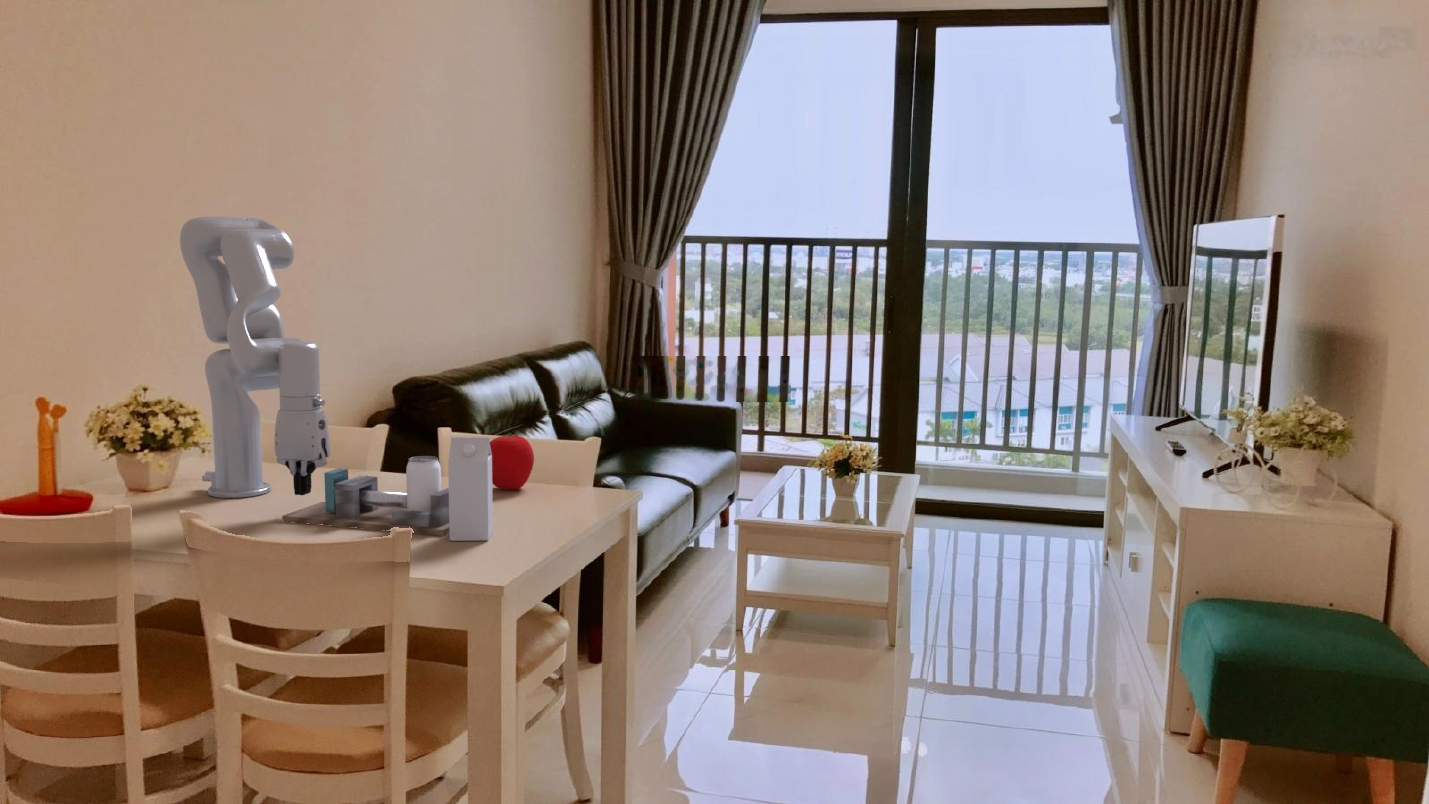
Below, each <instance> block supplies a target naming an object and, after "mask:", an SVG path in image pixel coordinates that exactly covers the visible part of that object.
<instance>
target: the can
mask: <svg viewBox="0 0 1429 804" xmlns="http://www.w3.org/2000/svg"><path fill="white" fill-rule="evenodd" d="M441 468H442V467H441V464H440V463H439V458H438V457H436V456H434V455H433V456H431V455H422V456H420V455H418V456H412V457H410V458H408V462H407V464H406V470H405V471H406V475H405V476H406V493H407V511H419V512H431V495H432V494H435V493H437V492H440V491H442V475H441V472H442V471H441V470H442V469H441Z"/></svg>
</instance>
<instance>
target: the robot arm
mask: <svg viewBox="0 0 1429 804" xmlns="http://www.w3.org/2000/svg"><path fill="white" fill-rule="evenodd" d="M179 244H180V245H179V246H180V252H181V256H182V258H183V261H184V264H185V266H186V268H187V270H188V272H189V274H190V276H191V279H192V280H193V283H194V286H195V290H196V296H197V301H198V306H199V310H200V314H201V320H202V325H203V329H204V332H205V334H206V337H207V338H208V340H209V341H210V342H212V343H215V344H219V345H220V344H222V345H223V344H225V345H226V344H227V345H228V347H229V348H224V349H218V350H216V351H214V352H212V353H211V354H210V355H209V356H208V357H207V358H206V360H205V363H204V364H205V365H204V371H205V372H204V374H205V377H206V382H207V386H208V390H209V391H208V392H209V396H210V403H211V414H212V416H211V418H212V436H213V438H212V439H213V455H214V456H213V457H214V460H213V461H214V471H211V470H210V471H205V473H204V475H202V477H201V480H202V481H203V482H211V483H210V484H211V486H210V487H208V489H207V494H208V496H211V497H213V498H223V499H234V498H235V499H237V498H248V497H254V496H261V495H264V494H266V493H269V492H271V488H272V487H271V484H270V483H268V482H266V481H264V480H263V475H264V474H263V453H262V430H261V429H262V427H261V424H262V423H261V412H260V410H259V407H258V405H257V404H256V402H255V401H254V400H253V399H252V398H251V397H250V395H249V394H248V393H250V392H257V391H267V390H268V391H269V390H277V389H279V406H280V407H279V410H277V414H276V419H275V426H274V453H275V456H276V457H277V458H276V462H277V463H278V464H280V465H282V466H285V467H286V468H287V469H288V470H289V472H290V473H289V474H290V475H292V477H293V491H294V495H295V496H305V495H308V494H311V492H312V474H314V472H315V471H316V470H317V469H318V468H322V467H323V468H324V467H326V466H327V465H328V461H327V458H329V457H330V455H331V441H330V431H329V424H328V420H327V416H326V415H327V414H326V413H325V410H323V409H321V407H324V406H325V405H326V401H325V399H322V398H321V385H320V384H321V383H320V350H319V346H318V345H317V344H316V343H315V342H311V341H304V339H301V338H298V337H286V334H285V328H284V324H283V320H282V316H281V313H280V311H279V309H278V308H277V306H276V305H275V304H274V303H276V302H277V301H278V300H279V298H280V296H281V288H280V285H279V283H278V281H277V277H276V274H275V272H274V270H284V269H288V268H289V267H291V266H292V264H293V262H294V258H295V246H294V245H293V244H294V243H293V242H292V240H291V238H290V236H289V235H288V234H287V233H286V232H285V231H284V230H283V229H281V228H279V227H278V226H276V225H273V224H272V223H270V222H267V221H266V220H263V219H260V218H255V217H254V218H253V217H233V216H230V217H229V216H199V217H194V218H190V219H189V220H187V221H186V222H185V223H184V224H183V225H182V227H181V230H180V235H179ZM219 257H222V259H223V262H224V263H223V262H222V261H221V260H220V259H219Z"/></svg>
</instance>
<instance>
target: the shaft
mask: <svg viewBox="0 0 1429 804" xmlns="http://www.w3.org/2000/svg"><path fill="white" fill-rule="evenodd" d="M323 474H324V476H323V477H324V500H325V501H324V502H325V506H326V512H331V513H335V512H336V504H335V484H336V483H339V482H342V481H345V480H348V479H349V469H348V468H340V467H339V468H335V469H332V470H330V471H326V472H324V473H323ZM359 505H367V506H379V507H391V508H403V509H407V492H406V493H405V492H396V491H395V492H393V491H383V490H382V491H381V490H380V491H379V490H378V491H370V490H359Z"/></svg>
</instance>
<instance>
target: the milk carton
mask: <svg viewBox="0 0 1429 804" xmlns="http://www.w3.org/2000/svg"><path fill="white" fill-rule="evenodd" d="M490 441H491V438H490V437H489V436H479V437H478V436H451V437H450V447H449V453H448V462H447V463H448V466H447V468H448V488H449V531H450V533H449V541H454V542H455V541H456V542H457V541H462V542H463V541H466V542H467V541H469V542H470V541H489V539H490V537H491V535H492V533H493V532H494V531H493V530H494V528H493V527H494V526H493V525H494V521H493V519H494V517H493V515H494V513H493V508H494V507H493V484H492V452H491V447H490Z"/></svg>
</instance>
